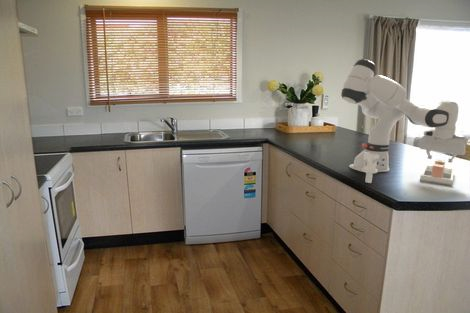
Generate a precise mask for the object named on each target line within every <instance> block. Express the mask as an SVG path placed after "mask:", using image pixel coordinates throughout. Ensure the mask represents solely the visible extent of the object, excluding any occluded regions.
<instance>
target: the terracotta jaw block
mask: <svg viewBox="0 0 470 313" xmlns="http://www.w3.org/2000/svg"><path fill="white" fill-rule="evenodd" d="M432 166H433V168H432V174H431V176H432V177H439V178H443V173H444V168H446V167H445V165H438V164H435V163H434V164H433V165H432Z"/></svg>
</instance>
